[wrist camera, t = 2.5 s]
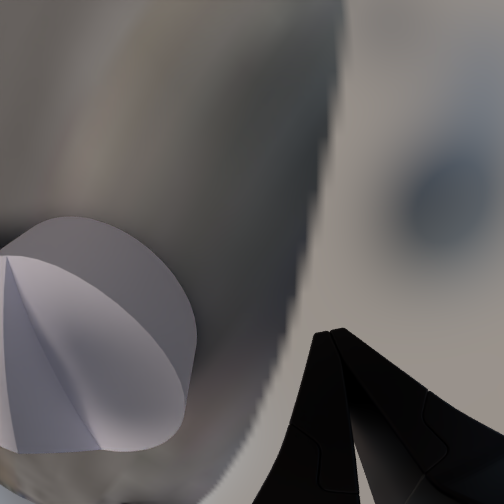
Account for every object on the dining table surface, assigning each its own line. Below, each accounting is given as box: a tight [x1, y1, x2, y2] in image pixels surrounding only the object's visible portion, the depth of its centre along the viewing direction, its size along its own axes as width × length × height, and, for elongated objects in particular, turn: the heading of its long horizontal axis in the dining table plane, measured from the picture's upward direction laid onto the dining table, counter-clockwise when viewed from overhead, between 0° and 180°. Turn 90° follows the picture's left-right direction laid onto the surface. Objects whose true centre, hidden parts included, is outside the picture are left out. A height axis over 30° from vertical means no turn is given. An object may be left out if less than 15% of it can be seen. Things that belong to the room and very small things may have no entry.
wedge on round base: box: [0, 216, 197, 454], centre depth 9 cm, size 9×7×13 cm
